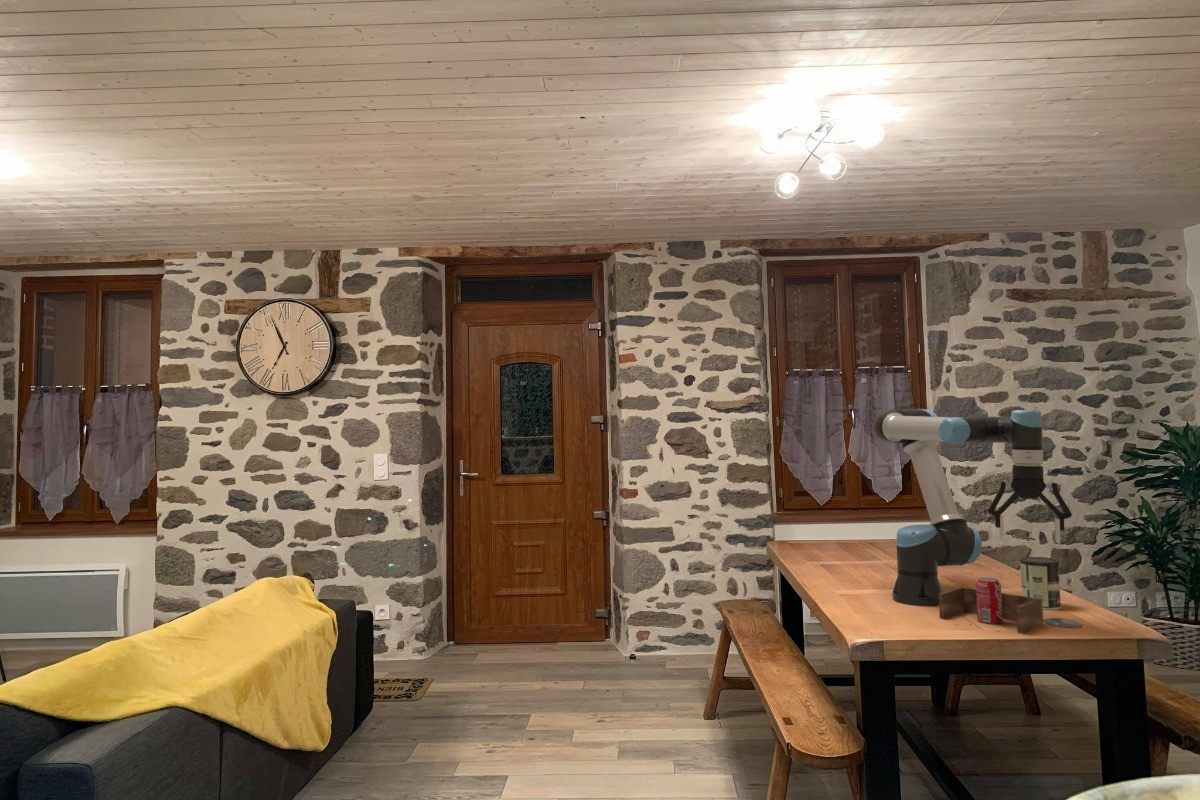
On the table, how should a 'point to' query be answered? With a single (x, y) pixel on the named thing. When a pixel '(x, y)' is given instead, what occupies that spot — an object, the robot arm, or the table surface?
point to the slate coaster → (1062, 623)
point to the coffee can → (1041, 580)
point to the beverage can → (989, 600)
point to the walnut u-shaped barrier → (1013, 607)
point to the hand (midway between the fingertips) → (1029, 541)
